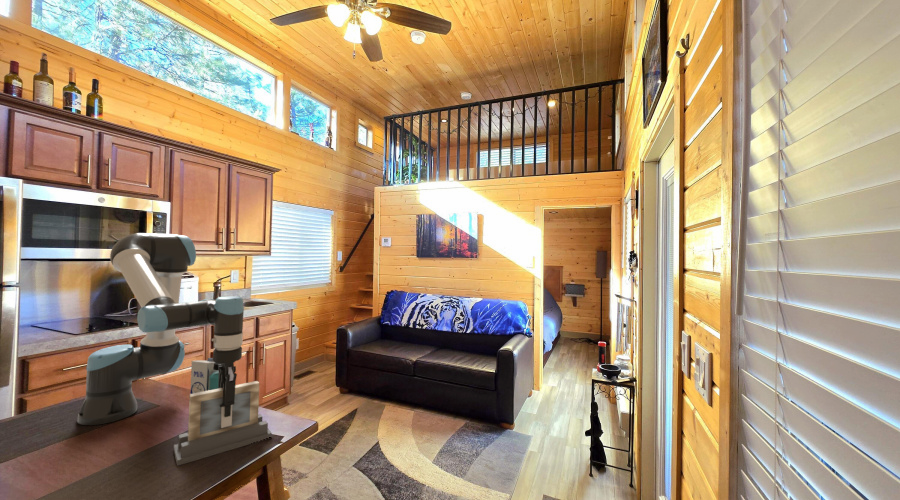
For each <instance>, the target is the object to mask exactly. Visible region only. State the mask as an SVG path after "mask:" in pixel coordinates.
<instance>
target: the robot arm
mask: <svg viewBox="0 0 900 500" xmlns="http://www.w3.org/2000/svg"><path fill="white" fill-rule="evenodd" d="M109 259H110V262H111V264H112V266H113V268H114V269H115V270H116V271H118V272H119V273H121V274H122V275H123V278H124V279H125V281H126V283H127V284H128V287H129V288H130V290H131V292H132V294H133V295H134V297H135V299H136V301H137V302H138V304H139V306H140V309H139V310H138V312H137V316H136V317H137V324H138V325H137V326H138V329H139V331H141V332H143V333H146V335H145V336H144V337H143V338H142V339H141V340H140V343H139V346H136V347H134V345H132V344H126V343H125V344H117V345H112V346H108V347H104V348H100V349H99V350H95V351H93V352H92V353H91V354H90V355H89V356H88V357H87V362H86V363H87V364H86V366H85V367H86V368H85V371H86V379H85V380H86V382H85V383H86V386H85V399H84V401H83V402H82V405H81V406H80V409H79V411H78V414H77V424H79V425H82V426H97V425H103V424H104V425H105V424H107V423H113V422H116V421H121V420H122V419H125V418H128V417H130V416H132V415H134V414H135V413H136V412H137V411H138V401H137V399H136V397H135V395H134V392H133V389H132V387H133V386H132V385H133V384H132V383H133V381H137V380H142V379H146V378H150V377H155V376H160V375H166V374H167V373H168V374H169V373H171V372H175V371H177V370H178V369H179V368H180V367H181V366H182V364H183V363H184V359H185V352H186V351H185V345H184V343H183V342H182V341H181V340H180V337H178V336H177V335H176V330H178V329H185V328H191V327H193V328H194V327H200V326H206V325H212V326H213V338H211V342H213V348H214V349H213V351H212V358H213V361H214V362H215V363H221V364H220V365H218V371H219V378H218V389H219V388H223V404H221V405H220V407H222V408H221V428H224V427H227V426H231V425H232V405H233V404H234V403H235V402H234V399H235V385H237V384H236V382H237V377H238V374H237V373H236V372H237V367H236V365H235V364H234V363H235V362H238V361H240V360H241V359H242V358H243V357H242V353H243V348H242V345H243V339H244V338H243V337H244V335H243V333H244V331H243V330H244V329H243V328H244V327H243V326H244V312H245V307H244V298H243V297H241V296H235V295H227V296H226V295H225V296H218V297H217V298H216V299H211V298H210V299H201V300H200V301H190V302H180V294H181V285H182V277H183V275H184V274H185V273H187V272H188V268H189V267H191V266H193V265H194V264H195V262H196V260H197V252H196V247H195V244H194V242H193V240H192V238H190V237H189V236H187V235H182V234H175V233H174V234H173V233H169V234H168V233H146V232H136V233H131V234H128V235H126V236H124V237H121V239H119V240H118V241H116V243H115V244H114V245H113V246H112V248H111V250H110V253H109Z"/></svg>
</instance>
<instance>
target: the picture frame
mask: <svg viewBox="0 0 900 500" xmlns="http://www.w3.org/2000/svg"><path fill="white" fill-rule="evenodd" d="M188 398H189V401H188V403H189V404H188V424H187V425H188V426H187V433H188V441H191V440H195V439H199V438H203V437H206V436H210V435H214V434H218V433H221V432H225V431H229V430H233V429H236V428H240V427H244V426H247V425H251V424H255V423H258V415H259V407H260V405H259V403H260V402H259V401H260V382H259V381H258V380H254V381H250V382H244V383H240V384H235V399H234V402H235V403H234V404H233V405H232V425H231V426H227V427H224V428H221V408H222V407H220V405H221V404H223V388H219V389H213V390H208V391H203V392H198V393H193V394H190V393H189V397H188Z"/></svg>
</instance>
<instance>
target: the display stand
mask: <svg viewBox="0 0 900 500" xmlns="http://www.w3.org/2000/svg"><path fill="white" fill-rule="evenodd" d="M269 437H272V431H271V430H270V428H269V423H268V422H267V420H263V415H262V414H261V413H260V414H259V413H258V423H255V424H251V425H247V426H244V427H240V428H236V429H233V430H229V431H225V432H221V433H218V434H214V435H210V436H206V437H203V438H199V439H195V440H191V441H188V432H184V433H180V434H178V439H177V440H178V442H177V444H173V454H174V458H175V461H176V462H175V463H176V467H177V466H181V465H185V464H188V463H191V462H194V461H198V460H202V459H204V458H208V457H211V456H212V457H213V456H215V455H218V454H222V453H224V452H228V451H231V450H236V449H238V448H241V447H244V446H248V445H252V444H254V443H253V442H255V443H257V442H256V441H258V442H260V441H259V440H262V439H265V438H268V439H270V438H269ZM265 440H266V439H265ZM262 441H263V440H262ZM251 443H252V444H251Z"/></svg>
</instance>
